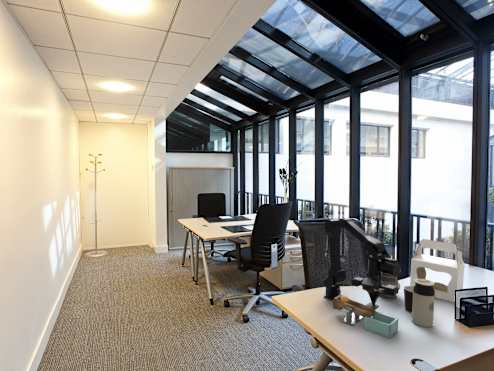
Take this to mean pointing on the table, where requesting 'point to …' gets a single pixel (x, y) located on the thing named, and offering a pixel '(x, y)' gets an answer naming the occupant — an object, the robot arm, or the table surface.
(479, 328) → the table surface
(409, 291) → the coffee mug
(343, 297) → the ball
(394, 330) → the bin
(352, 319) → the fulcrum
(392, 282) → the apothecary jar
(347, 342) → the table surface
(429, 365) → the table surface
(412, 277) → the gable box
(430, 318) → the travel mug
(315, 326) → the table surface
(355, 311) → the lever
